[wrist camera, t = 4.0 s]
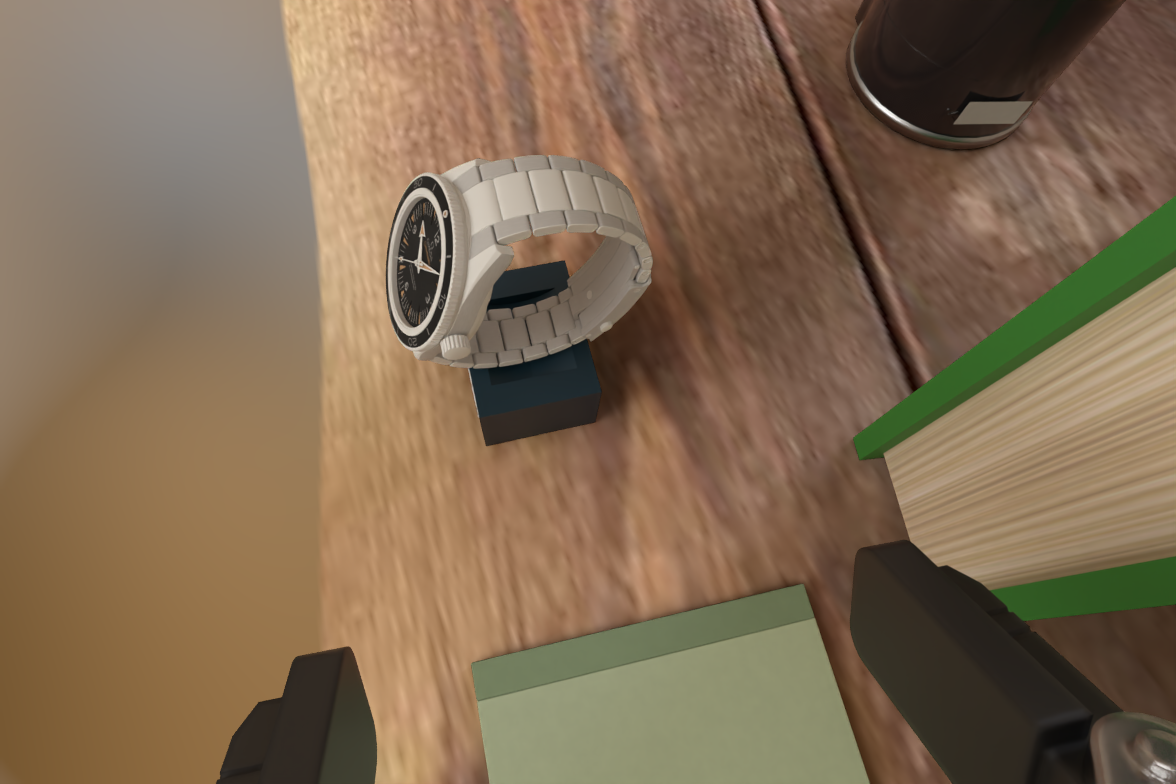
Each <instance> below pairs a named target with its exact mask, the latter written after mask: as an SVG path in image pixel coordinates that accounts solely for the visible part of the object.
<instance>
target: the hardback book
mask: <svg viewBox="0 0 1176 784" xmlns="http://www.w3.org/2000/svg"><path fill="white" fill-rule="evenodd" d="M853 440H854V443H855V447H856V450H857V453H858V457H859V460H866V459H875V458H883V457H885V460H886V463H887V467H888V470H889V473H890V476H891V480H892V483H893V486H894V489H895V493H896V496H897V499H898V502H899V506H900V509H901V512H902V515H903V519H904V522H905V525H906V528H907V532H908V535H909V538H910V541H911V542H912V543H913V544H914V545H916V546H917V547H918V548H919V549H920V550H921V551H922V552H923V553H924V554H925V555H926V556H927V557H928V558H929V559H930V560H931V561H932V562H934V563H935V564H936V565H937V566H938V567H939V566H944V565H948V566H950V567H952V568H954V569H955V570H957V571H959V572H961V573H963V574H965V575H967V576H969V577H971V578H973V579H975V580H976V581H978V582H980V583H982V584H983V585H984V586H985V587H986V588H987V589H988V590H990V591H991V592H992V593H993V594H994V595H995V596H996V597H997V598H998V599H999V600H1001V601H1002V602H1003V603H1004V604H1005V605H1006V606H1007V608H1008V611H1009V612H1014V613H1015V614H1016V615H1017V616H1018V617H1019V618H1021V619H1022V620H1023V621H1028V620H1037V619H1046V618H1056V617H1065V616H1074V615H1083V614H1093V613H1102V612H1111V611H1120V610H1130V609H1139V608H1148V607H1158V606H1167V605H1176V196H1175V197H1174V198H1172V199H1171V200H1170V201H1168V202H1167V203H1166V204H1164V205H1163V206H1162V207H1160V208H1159V209H1158V210H1156V211H1155V212H1154V213H1152V214H1151V215H1150V216H1148V217H1147V218H1146V219H1144V220H1143V221H1142V222H1140V223H1139V224H1138V225H1136V226H1135V227H1134V228H1132V229H1131V230H1130V231H1128V232H1127V233H1126V234H1124V235H1123V236H1122V237H1120V238H1119V239H1118V240H1116V241H1115V242H1114V243H1112V244H1111V245H1110V246H1108V247H1107V248H1106V249H1104V250H1103V251H1102V252H1100V253H1099V254H1098V255H1096V256H1095V257H1094V258H1092V259H1091V260H1090V261H1088V262H1087V263H1086V264H1084V265H1083V266H1082V267H1080V268H1079V269H1078V270H1076V271H1075V272H1074V273H1072V274H1071V275H1070V276H1068V277H1067V278H1066V279H1064V280H1063V281H1062V282H1060V283H1059V284H1058V285H1056V286H1055V287H1054V288H1052V289H1051V290H1050V291H1048V292H1047V293H1046V294H1044V295H1043V296H1042V297H1040V298H1039V299H1038V300H1036V301H1035V302H1034V303H1032V304H1031V305H1030V306H1028V307H1027V308H1026V309H1024V310H1023V311H1022V312H1020V313H1019V314H1018V315H1016V316H1015V317H1014V318H1012V319H1011V320H1010V321H1008V322H1007V323H1006V324H1004V325H1003V326H1002V327H1000V328H999V329H998V330H996V331H995V332H994V333H992V334H991V335H990V336H988V337H987V338H986V339H984V340H983V341H982V342H980V343H979V344H978V345H976V346H975V347H974V348H972V349H971V350H970V351H968V352H967V353H966V354H964V355H963V356H962V357H960V358H959V359H958V360H956V361H955V362H954V363H952V364H951V365H950V366H948V367H947V368H946V369H944V370H943V371H942V372H940V373H939V374H938V375H936V376H935V377H934V378H932V379H931V380H930V381H928V382H927V383H926V384H924V385H923V386H922V387H920V388H919V389H918V390H916V391H915V392H914V393H912V394H911V395H910V396H908V397H907V398H906V399H904V400H903V401H902V402H900V403H899V404H898V405H896V406H895V407H894V408H892V409H891V410H890V411H888V412H887V413H886V414H884V415H883V416H882V417H880V418H879V419H878V420H876V421H875V422H874V423H872V424H871V425H870V426H868V427H867V428H866V429H864V430H863V431H862V432H860V433H859V434H858V435H856V436H855V437H854V438H853Z"/></svg>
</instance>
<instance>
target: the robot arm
mask: <svg viewBox="0 0 1176 784" xmlns="http://www.w3.org/2000/svg"><path fill="white" fill-rule="evenodd" d="M1125 1H1126V0H863V2H862V4H861V6H860V8H859V10H858V12H857V14H856V16H855V19H856V22H857V24H858V28H857V30H856V31H855V33H854V35H853V37H852V39H851V41H850V44H849V47H848V50H847V55H846V68H847V73H848V77H849V80H850V83H851V85H852V87H853V89H854V91H855V93H856V95H857V96H858V98H859V99H860V100H861V102H862V103H863V104H864V105H865V107H866V108H867V109H868V110H869V111H870V112H871V113H872V114H873V115H874V116H875V117H877V118H878V119H879V120H880V121H881V122H883V123H884V124H886V125H887V126H888V127H890V128H892V129H893V130H895V131H896V132H898V133H900V134H902V135H904V136H906V137H908V138H911V139H913V140H916V141H918V142H921V143H924V144H928V145H931V146H936V147H941V148H948V149H973V148H980V147H985V146H988V145H991V144H994V143H997V142H999V141H1001V140H1003V139H1004V138H1006V137H1008V136H1009V135H1010V134H1012V133H1013V132H1014V131H1015V130H1016V129H1017V128H1018V127H1019V125H1020V124H1021V123H1022V122H1023V121H1024V120H1025V119H1026V117H1027V116H1028V115H1029V113H1030V111H1031V110H1032V108H1033V106H1034V105H1035V104H1036V102H1037V101H1038V100H1039V99H1040V98H1041V97H1042V96H1043V94H1044V93H1045V92H1046V91H1047V90H1048V89H1049V88H1050V86H1051V85H1052V84H1053V83H1054V82H1055V81H1056V80H1057V78H1058V77H1059V76H1060V75H1061V74H1062V73H1063V71H1064V70H1065V69H1066V68H1067V67H1068V66H1069V65H1070V64H1071V63H1072V62H1073V61H1074V59H1075V58H1076V57H1077V56H1078V55H1079V54H1080V53H1081V51H1082V50H1083V49H1084V48H1085V47H1086V46H1087V44H1088V43H1089V42H1090V41H1091V40H1092V39H1093V38H1094V36H1095V35H1096V34H1097V33H1098V32H1099V31H1100V30H1101V28H1102V27H1103V26H1104V25H1105V24H1106V23H1107V21H1108V20H1109V19H1110V18H1111V17H1112V16H1113V15H1114V13H1115V12H1116V11H1117V10H1118V9H1119V8H1120V7H1121V5H1122V4H1123V3H1124V2H1125ZM850 630H851V635H852V639H853V642H854V645H855V648H856V650H857V652H858V654H859V656H860V658H861V660H862V661H863V663H864V664H865V666H866V667H867V668H868V670H869V671H870V672H871V674H872V675H873V676H874V678H875V679H876V681H877V682H878V683H879V685H880V686H881V687H882V689H883V690H884V691H885V693H886V694H887V695H888V697H889V698H890V699H891V701H892V702H893V704H894V705H895V706H896V708H897V709H898V710H899V712H900V713H901V714H902V716H903V717H904V718H905V720H906V721H907V723H908V724H909V725H910V727H911V728H912V729H913V731H914V732H915V733H916V735H917V736H918V737H919V739H920V740H921V741H922V743H923V744H924V746H925V747H926V748H927V750H928V751H929V752H930V754H931V755H932V756H933V758H934V759H935V760H936V762H937V763H938V765H939V766H940V767H941V769H942V770H943V771H944V773H945V774H946V775H947V777H948V778H949V779H950V781H951V782H952V784H1176V724H1174V723H1172V722H1169V721H1167V720H1164V719H1162V718H1158V717H1155V716H1152V715H1147V714H1142V713H1135V712H1124V711H1123V710H1122V709H1120V708H1119V707H1118V706H1117V705H1116V704H1115V703H1114V702H1112V701H1111V700H1110V699H1109V698H1108V697H1107V696H1106V695H1105V694H1104V693H1102V692H1101V691H1100V690H1099V689H1098V688H1097V687H1096V686H1095V685H1094V684H1093V683H1091V682H1090V681H1089V680H1088V679H1087V678H1086V677H1085V676H1084V675H1083V674H1081V673H1080V672H1079V671H1078V670H1077V669H1076V668H1075V667H1074V666H1073V665H1071V664H1070V663H1069V662H1068V661H1067V660H1066V659H1065V658H1064V657H1063V656H1061V655H1060V654H1059V653H1058V652H1057V651H1056V650H1055V649H1054V648H1053V647H1052V646H1050V645H1049V644H1048V643H1047V642H1046V641H1045V640H1044V639H1043V638H1042V637H1040V636H1039V635H1038V634H1037V633H1036V632H1031V631H1030V628H1029V626H1028V625H1027V624H1026V623H1025V622H1024V621H1023V620H1022V619H1021V618H1019V617H1018V616H1017V615H1016V614H1015V613H1014V612H1009V611H1008V608H1007V606H1006V605H1005V604H1004V603H1003V602H1002V601H1001V600H999V599H998V598H997V597H996V596H995V595H994V594H993V593H992V592H991V591H990V590H988V589H987V588H986V587H985V586H984V585H983V584H982V583H980V582H978V581H976V580H975V579H973V578H971V577H969V576H967V575H965V574H963V573H961V572H959V571H957V570H955V569H954V568H952V567H950V566H948V565H944V566H939V567H938V566H937V565H936V564H935V563H934V562H932V561H931V560H930V559H929V558H928V557H927V556H926V555H925V554H924V553H923V552H922V551H921V550H920V549H919V548H918V547H917V546H916V545H914V544H913V543H912V542H910V541H907V540H900V541H895V542H890V543H884V544H879V545H874V546H869V547H864V548H861V549H859V550H858V552H857V553H856V557H855V565H854V577H853V589H852V601H851V613H850ZM376 765H377V742H376V732H375V725H374V721H373V717H372V713H371V710H370V707H369V703H368V700H367V696H366V693H365V689H364V686H363V683H362V679H361V676H360V672H359V669H358V666H357V662H356V659H355V656H354V653H353V651H352V649H351V648H350V647H342V648H337V649H332V650H327V651H322V652H317V653H312V654H306V655H302V656H297V657H296V658H295V659H294V660H293V662H292V665H291V668H290V672H289V676H288V679H287V682H286V686H285V689H284V693H283V696H282V697H281V698H277V699H272V700H267V701H262V702H258V704H257V705H256V706H255V708H254V709H253V710H252V712H251V713H250V714H249V715H248V717H247V718H246V719H245V721H244V722H243V723H242V725H241V726H240V727H239V728H238V730H237V731H236V732H235V734H234V735H233V736H232V739H231V742H230V745H229V748H228V751H227V754H226V757H225V759H224V762H223V765H222V768H221V771H220V775H221V776H220V779H219V780H217V782H216V784H375V775H376Z"/></svg>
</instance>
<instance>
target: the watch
mask: <svg viewBox="0 0 1176 784" xmlns="http://www.w3.org/2000/svg"><path fill="white" fill-rule="evenodd" d="M514 164H515V167H514ZM515 168H516V171H517V172H516V171H515ZM528 178H529V179H528ZM529 182H530V183H529ZM531 189H532V190H531ZM532 193H533V194H532ZM534 200H535V201H534ZM535 204H536V205H535ZM537 211H538V212H537ZM529 222H530V223H529ZM530 224H531V227H530ZM531 228H532V232H533V235H534V236H537V237H538V236H544V235H549V234H556V233H561V232H563V231H564V230H565V229H566V230H567V232H570V233H573V232H585V233H591V232H594V231H595V230H596V233H597V234H601V235H606V237H605V239H604V240H603V242H602V243H601V245H600V246H599V247H598V249H597V250H596V251H595V253H594V254H593V255H592V256H591V257H590V259H589V260H588V261H587V262H586V263H585V264H584V265H583V266H582V267H581V268H580V269H579V270H578V271H577V272H576V273H574V274H573V275H572V276H571V277H569V274H568V270H567V267H566V263H565V260H564V261H559V262H553V263H548V264H542V265H537V266H531V267H526V268H520V269H514V270H509V271H505V270H506V269H507V267H508V266H509V265H510V264H511V262H512V259H513V257H514V252H513V248H512V247H510V246H504V245H507V244H510V243H513V242H517V241H520V240H524V239H527V238H529V237H530V236H531ZM652 264H653V258H652V255H651V251H650V248H649V245H648V241H647V238H646V235H645V232H644V229H643V226H642V223H641V220H640V217H639V214H638V211H637V209H636V206H635V203H634V200H633V197H632V195H631V193H630V191H629V189H628V188H627V187H626V186H625V185H624V184H623V182H622V181H621V180H620V179H619V178H617V177H616V176H615V175H613V174H612V173H610V172H609V171H605V170H604V169H603V168H602V167H600V166H598V165H596V164H593V163H591V162H588V161H585V160H579V161H578V159H575V158H570V157H565V156H556V155H550V156H548V158H547V156H544V155H533V156H521V157H515V158H514V163H513V160H512V159H503V160H498V161H493V162H491V161H488V160H484V159H480V158H478V159H475V160H472V161H469V162H467V163H464V164H462V165H459V166H457V167H455V168H453V169H451V170H449V171H447V172H445V173H443V174H441V175H438V174H434V173H429V172H428V173H423V174H421V175H419V176H417V177H416V178H415V179H414V180H413V181H412V182H411V183H410V185H409V186H408V187H407V189H406V190H405V192H404V194H403V196H402V198H401V200H400V202H399V205H398V208H397V210H396V213H395V217H394V220H393V224H392V228H391V232H390V237H389V243H388V250H387V260H386V293H387V302H388V309H389V314H390V319H391V322H392V326H393V329H394V331H395V334H396V335H397V337H398V339H399V341H400V342H401V343H402V345H403V346H404V347H405V348H407V349H408V350H410V351H413V353H414V356H415V358H417V359H418V360H429V361H432V362H435V363H438V364H443V365H450V366H451V367H459V368H468V371H469V376H470V380H471V385H472V390H473V395H474V400H475V404H476V407H477V408H476V409H477V414H478V417H479V418H480V422H481V427H482V431H483V435H484V439H485V444H486V446H489V445H493V444H498V443H503V442H507V441H512V440H516V439H521V438H525V437H530V436H534V435H539V434H544V433H548V432H553V431H557V430H562V429H566V428H571V427H575V426H580V425H585V424H589V423H594V422H595V421H596V416H597V411H598V407H599V402H600V398H601V393H602V391H601V388H600V384H599V381H598V377H597V373H596V370H595V366H594V363H593V359H592V356H591V352H590V349H589V345H588V341H587V339H590V341H593V340H594V339H595V338H597V337H598V336H600V335H601V334H602V333H603V332H606V331H608V330H609V329H611V328H612V326H613V324H615V323H616V322H617V321H618V320H619V319H620V318H621V317H622V316H623V315H625V314H626V313H627V312H628V310H629V309H630V308H631V307H632V306H633V305H634V304H635V303H636V302H637V300H638V299H639V298H640V297H641V296H642V294H643V293H644V292H645V290H646V289H647V288H648V286H649V285H650V283H651V282H652V280H651V268H652Z"/></svg>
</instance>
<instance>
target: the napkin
mask: <svg viewBox="0 0 1176 784" xmlns="http://www.w3.org/2000/svg"><path fill="white" fill-rule="evenodd" d="M471 666H472V673H473V679H474V686H475V692H476V699H477V701H478V702H477V705H478V711H479V718H480V724H481V731H482V737H483V744H484V750H485V757H486V763H487V770H488V776H489V783H490V784H870V782H869V779H868V776H867V773H866V770H865V767H864V764H863V761H862V758H861V755H860V752H859V749H858V746H857V743H856V740H855V737H854V734H853V731H852V728H851V725H850V722H849V719H848V716H847V713H846V710H845V707H844V704H843V701H842V698H841V695H840V692H839V689H838V686H837V683H836V680H835V677H834V674H833V671H832V668H831V665H830V662H829V658H828V655H827V652H826V649H825V646H824V643H823V640H822V637H821V634H820V631H819V628H818V625H817V622H816V619H815V618H814V613H813V610H812V607H811V604H810V601H809V598H808V595H807V592H806V589H805V586H804V584H799V585H794V586H790V587H786V588H782V589H778V590H773V591H769V592H765V593H761V594H757V595H753V596H748V597H744V598H740V599H736V600H732V601H728V602H723V603H719V604H715V605H711V606H707V607H702V608H698V609H694V610H690V611H686V612H682V613H677V614H673V615H669V616H665V617H661V618H657V619H652V620H648V621H644V622H640V623H636V624H632V625H627V626H623V627H619V628H615V629H611V630H606V631H602V632H598V633H594V634H590V635H586V636H581V637H577V638H573V639H569V640H565V641H561V642H556V643H552V644H548V645H544V646H540V647H536V648H531V649H527V650H523V651H519V652H515V653H510V654H506V655H502V656H498V657H494V658H490V659H485V660H481V661H477V662H473V663H471Z"/></svg>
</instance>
